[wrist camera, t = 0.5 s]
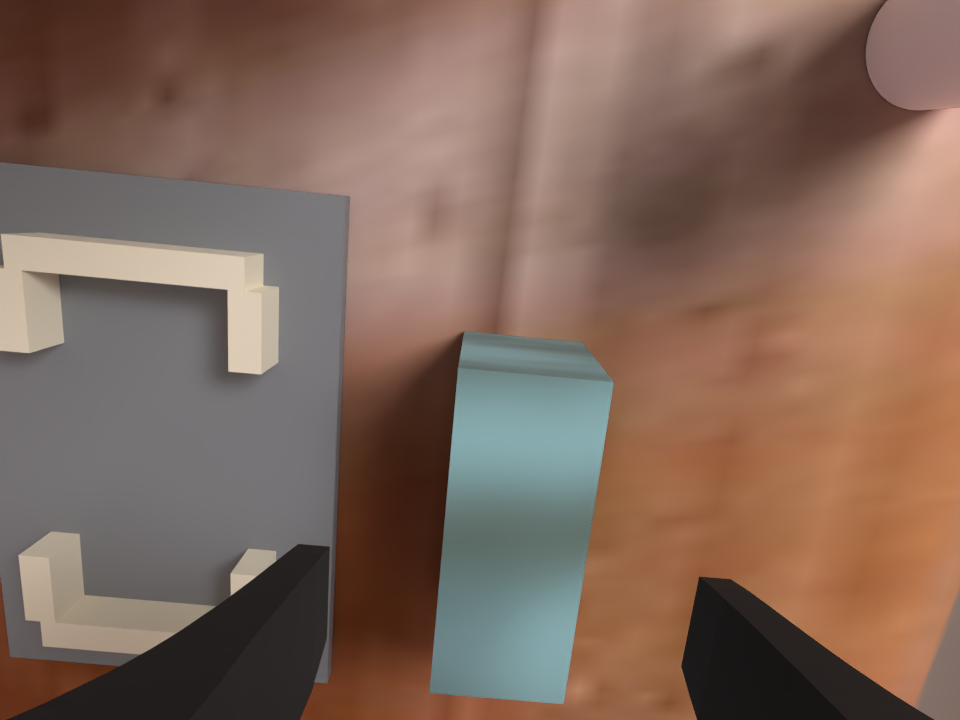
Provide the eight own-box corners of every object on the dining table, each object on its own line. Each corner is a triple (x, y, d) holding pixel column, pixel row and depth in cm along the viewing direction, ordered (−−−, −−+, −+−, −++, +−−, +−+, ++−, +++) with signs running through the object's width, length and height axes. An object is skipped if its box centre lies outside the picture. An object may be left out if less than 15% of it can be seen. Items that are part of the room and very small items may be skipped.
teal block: (545, 596, 22) (563, 704, 17) (441, 587, 22) (429, 693, 17) (581, 341, 20) (613, 382, 15) (464, 330, 20) (458, 367, 15)
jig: (331, 671, 23) (316, 716, 21) (22, 645, 22) (-24, 688, 20) (349, 196, 18) (333, 193, 16) (-33, 159, 18) (-98, 151, 16)
